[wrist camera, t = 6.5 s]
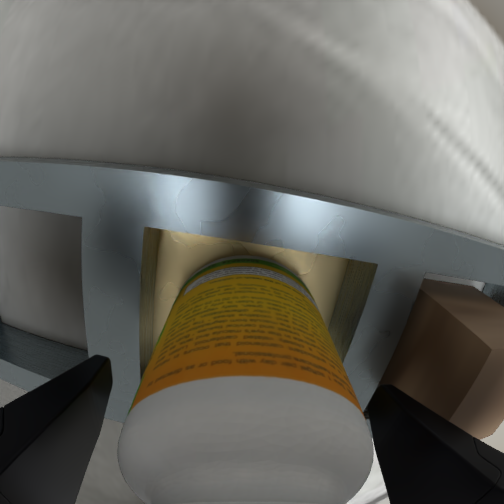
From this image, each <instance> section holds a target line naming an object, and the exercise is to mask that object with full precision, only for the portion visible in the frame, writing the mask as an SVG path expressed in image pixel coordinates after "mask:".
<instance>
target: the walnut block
mask: <svg viewBox="0 0 504 504" xmlns="http://www.w3.org/2000/svg"><path fill="white" fill-rule="evenodd" d="M381 384H392V385H394V386H395V387H397V388H398V389H400V390H401V391H403V392H404V393H406V394H407V395H409V396H410V397H412V398H413V399H415V400H417V401H418V402H420V403H421V404H423V405H424V406H426V407H427V408H429V409H431V410H432V411H434V412H435V413H437V414H438V415H440V416H442V417H443V418H445V419H446V420H448V421H450V422H451V423H453V424H454V425H456V426H458V427H459V428H461V429H462V430H464V431H466V432H467V433H469V434H470V435H472V436H473V437H476V438H477V439H479V440H480V439H483V438H485V437H488V436H490V435H492V434H493V433H494V432H495V431H496V429H497V428H498V427H499V425H500V424H501V423H502V421H503V420H504V307H503V306H501V305H500V304H499V303H497V302H496V301H494V300H493V299H491V298H490V297H488V296H487V295H485V294H484V293H482V292H481V291H479V290H478V289H476V288H475V287H473V286H468V285H462V284H455V283H449V282H442V281H436V280H430V279H423V280H422V283H421V286H420V289H419V292H418V295H417V297H416V300H415V303H414V305H413V308H412V311H411V313H410V316H409V318H408V321H407V323H406V325H405V328H404V330H403V333H402V335H401V337H400V340H399V342H398V344H397V346H396V349H395V351H394V353H393V355H392V357H391V359H390V362H389V364H388V366H387V368H386V370H385V372H384V374H383V376H382V378H381V380H380V382H379V384H378V386H379V385H381ZM378 386H377V387H378Z"/></svg>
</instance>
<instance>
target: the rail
mask: <svg viewBox="0 0 504 504" xmlns="http://www.w3.org/2000/svg"><path fill="white" fill-rule="evenodd" d="M0 206H8V207H15V208H22V209H29V210H36V211H43V212H50V213H57V214H64V215H71V216H78V217H82V290H83V307H84V319H85V330H86V339H87V347H88V351H84V350H80V349H77V348H73V347H70V346H66V345H63V344H60V343H57V342H53V341H50V340H47V339H44V338H41V337H38V336H35V335H32V334H29V333H27V332H24V331H21V330H18V329H16V328H13V327H10V326H8V325H5V324H3V323H1V318H0V379H2V380H4V381H6V382H9V383H11V384H13V385H15V386H17V387H19V388H22V389H24V390H26V391H29V392H30V391H32V390H33V389H35V388H37V387H39V386H40V385H42V384H44V383H46V382H48V381H49V380H51V379H53V378H55V377H56V376H58V375H60V374H62V373H64V372H65V371H67V370H69V369H71V368H72V367H74V366H76V365H78V364H79V363H81V362H83V361H85V360H86V359H88V358H90V357H92V356H93V355H96V354H98V355H102V356H106V357H109V358H110V360H111V367H112V376H113V385H112V389H111V393H110V397H109V400H108V404H107V408H106V412H105V416H104V418H107V419H111V420H114V421H118V422H122V423H124V422H125V420H126V417H127V415H128V412H129V409H130V406H131V404H132V401H133V399H134V397H135V394H136V392H137V389H138V387H139V385H140V382H141V380H142V377H143V374H144V372H145V369H146V367H147V365H148V362H149V360H150V357H151V355H152V353H153V350H154V348H155V345H156V343H157V341H158V338H159V336H160V334H161V332H162V329H163V327H164V324H165V322H166V320H167V318H168V315H169V313H170V310H171V308H172V305H173V303H174V301H175V299H176V297H177V295H178V293H179V291H180V290H181V288H182V286H183V285H184V284H185V282H186V281H187V280H188V279H189V278H190V277H191V276H192V275H193V274H194V273H195V272H196V271H198V270H199V269H201V268H202V267H204V266H205V265H207V264H209V263H211V262H213V261H216V260H218V259H221V258H226V257H230V256H238V255H250V256H259V257H264V258H268V259H271V260H274V261H276V262H278V263H280V264H282V265H284V266H286V267H287V268H289V269H290V270H291V271H293V272H294V273H295V274H296V275H297V276H298V277H299V278H300V279H301V280H302V281H303V282H304V283H305V285H306V286H307V288H308V289H309V291H310V293H311V295H312V296H313V298H314V300H315V302H316V305H317V307H318V309H319V311H320V314H321V316H322V318H323V320H324V323H325V325H326V327H327V329H328V332H329V334H330V336H331V339H332V341H333V343H334V346H335V348H336V350H337V353H338V355H339V357H340V360H341V362H342V364H343V367H344V369H345V371H346V374H347V376H348V378H349V381H350V383H351V385H352V388H353V390H354V392H355V395H356V397H357V399H358V402H359V404H360V407H361V409H362V412H363V414H364V417H365V419H366V422H367V425H368V429H369V432H370V435H371V438H373V436H372V431H371V425H370V420H369V415H368V403H369V401H370V399H371V397H372V396H373V394H374V392H375V390H376V388H377V386H378V384H379V382H380V380H381V378H382V376H383V374H384V372H385V370H386V368H387V366H388V364H389V362H390V359H391V357H392V355H393V353H394V351H395V349H396V346H397V344H398V342H399V340H400V337H401V335H402V333H403V330H404V328H405V325H406V323H407V321H408V318H409V316H410V313H411V311H412V308H413V305H414V303H415V300H416V297H417V295H418V292H419V289H420V286H421V283H422V280H423V278H424V275H425V272H429V273H434V274H440V275H446V276H452V277H457V278H463V279H469V280H474V281H480V282H485V283H486V284H485V287H484V290H483V292H482V293H484V294H485V295H487V296H488V297H490V298H491V299H493V300H494V301H496V302H497V303H499V304H500V305H501V306H503V307H504V246H502V245H500V244H497V243H494V242H491V241H488V240H485V239H482V238H479V237H476V236H473V235H470V234H466V233H463V232H460V231H457V230H454V229H450V228H447V227H444V226H440V225H437V224H434V223H430V222H427V221H423V220H420V219H416V218H412V217H409V216H405V215H401V214H398V213H394V212H390V211H386V210H382V209H378V208H374V207H370V206H366V205H362V204H358V203H354V202H350V201H345V200H341V199H337V198H332V197H328V196H323V195H318V194H314V193H309V192H304V191H299V190H294V189H289V188H284V187H279V186H274V185H268V184H263V183H257V182H252V181H246V180H240V179H234V178H228V177H222V176H215V175H209V174H202V173H195V172H188V171H181V170H173V169H166V168H157V167H149V166H140V165H131V164H121V163H110V162H99V161H86V160H71V159H54V158H31V157H0Z"/></svg>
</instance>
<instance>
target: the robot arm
mask: <svg viewBox="0 0 504 504" xmlns="http://www.w3.org/2000/svg"><path fill="white" fill-rule="evenodd" d="M112 385H113V376H112V367H111V360H110V358H109V357H106V356H102V355H98V354H96V355H93V356H92V357H90V358H88V359H86V360H85V361H83V362H81V363H79V364H78V365H76V366H74V367H72V368H71V369H69V370H67V371H65V372H64V373H62V374H60V375H58V376H56V377H55V378H53V379H51V380H49V381H48V382H46V383H44V384H42V385H40V386H39V387H37V388H35V389H33V390H32V391H30V392H28V393H26V394H24V395H23V396H21V397H19V398H17V399H15V400H14V401H12V402H10V403H8V404H6V405H5V406H4V408H3V407H1V408H0V504H75V502H76V498H77V495H78V492H79V489H80V486H81V484H82V481H83V478H84V475H85V472H86V469H87V466H88V464H89V461H90V458H91V455H92V453H93V450H94V447H95V445H96V442H97V439H98V437H99V434H100V431H101V427H102V424H103V420H104V416H105V412H106V408H107V404H108V400H109V397H110V393H111V389H112ZM368 415H369V420H370V425H371V431H372V436H373V442H374V446H375V451H376V455H377V458H378V461H379V465H380V468H381V472H382V475H383V479H384V482H385V486H386V489H387V493H388V497H389V500H390V504H504V453H502V452H500V451H498V450H496V449H494V448H492V447H491V446H489V445H487V444H485V443H484V442H482V441H480V440H479V439H477V438H476V437H473V436H472V435H470V434H469V433H467V432H466V431H464V430H462V429H461V428H459V427H458V426H456V425H454V424H453V423H451V422H450V421H448V420H446V419H445V418H443V417H442V416H440V415H438V414H437V413H435V412H434V411H432V410H431V409H429V408H427V407H426V406H424V405H423V404H421V403H420V402H418V401H417V400H415V399H413V398H412V397H410V396H409V395H407V394H406V393H404V392H403V391H401V390H400V389H398V388H397V387H395V386H394V385H392V384H381V385H379V386H378V387H377V388H376V390H375V392H374V394H373V396H372V397H371V399H370V401H369V403H368Z"/></svg>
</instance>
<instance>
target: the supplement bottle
mask: <svg viewBox="0 0 504 504" xmlns="http://www.w3.org/2000/svg"><path fill="white" fill-rule="evenodd" d="M373 454H374V453H373V442H372V438H371V435H370V432H369V429H368V425H367V422H366V419H365V417H364V414H363V412H362V409H361V407H360V404H359V402H358V399H357V397H356V395H355V392H354V390H353V388H352V385H351V383H350V381H349V378H348V376H347V374H346V371H345V369H344V367H343V364H342V362H341V360H340V357H339V355H338V353H337V350H336V348H335V346H334V343H333V341H332V339H331V336H330V334H329V332H328V329H327V327H326V325H325V323H324V320H323V318H322V316H321V314H320V311H319V309H318V307H317V305H316V302H315V300H314V298H313V296H312V295H311V293H310V291H309V289H308V288H307V286H306V285H305V283H304V282H303V281H302V280H301V279H300V278H299V277H298V276H297V275H296V274H295V273H294V272H293V271H291V270H290V269H289V268H287V267H286V266H284V265H282V264H280V263H278V262H276V261H274V260H271V259H268V258H264V257H259V256H250V255H238V256H230V257H226V258H221V259H218V260H216V261H213V262H211V263H209V264H207V265H205V266H204V267H202V268H201V269H199V270H198V271H196V272H195V273H194V274H193V275H192V276H191V277H190V278H189V279H188V280H187V281H186V282H185V284H184V285H183V286H182V288H181V290H180V291H179V293H178V295H177V297H176V299H175V301H174V303H173V305H172V308H171V310H170V313H169V315H168V318H167V320H166V322H165V324H164V327H163V329H162V332H161V334H160V336H159V338H158V341H157V343H156V345H155V348H154V350H153V353H152V355H151V357H150V360H149V362H148V365H147V367H146V369H145V372H144V374H143V377H142V380H141V382H140V385H139V387H138V389H137V392H136V394H135V397H134V399H133V401H132V404H131V406H130V409H129V412H128V415H127V417H126V420H125V422H124V425H123V428H122V431H121V435H120V438H119V442H118V462H119V466H120V470H121V472H122V475H123V477H124V479H125V481H126V482H127V484H128V485H129V487H130V488H131V489H132V491H133V492H134V493H135V494H136V495H137V496H138V497H139V498H140V499H141V500H142V501H144V502H145V503H146V504H346V503H347V502H348V501H349V500H350V499H352V498H353V497H354V496H355V495H356V493H357V492H358V491H359V490H360V489H361V487H362V486H363V485H364V483H365V481H366V480H367V478H368V476H369V474H370V471H371V467H372V463H373Z"/></svg>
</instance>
